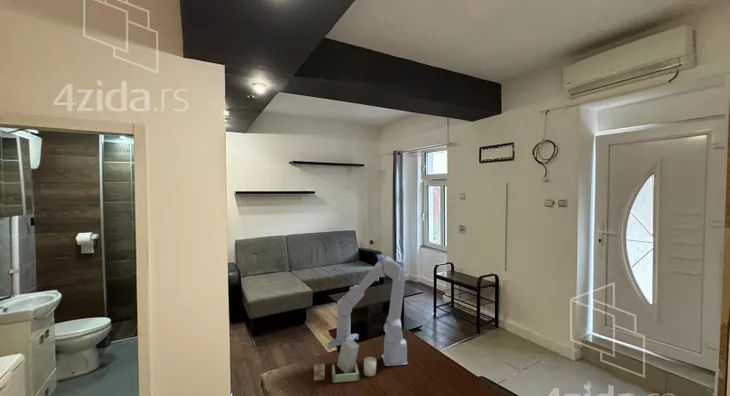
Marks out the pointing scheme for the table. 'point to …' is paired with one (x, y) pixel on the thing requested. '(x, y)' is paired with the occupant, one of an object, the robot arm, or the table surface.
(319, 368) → the beech block
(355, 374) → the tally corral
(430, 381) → the table surface
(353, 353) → the skincare box
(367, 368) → the cream rounded block
